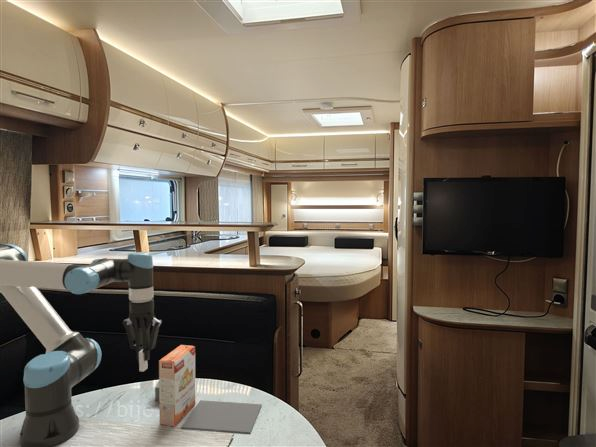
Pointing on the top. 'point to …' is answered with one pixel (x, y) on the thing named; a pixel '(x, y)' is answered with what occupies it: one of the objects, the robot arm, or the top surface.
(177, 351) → the cracker box
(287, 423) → the top surface
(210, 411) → the mat
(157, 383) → the dice cube
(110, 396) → the top surface
